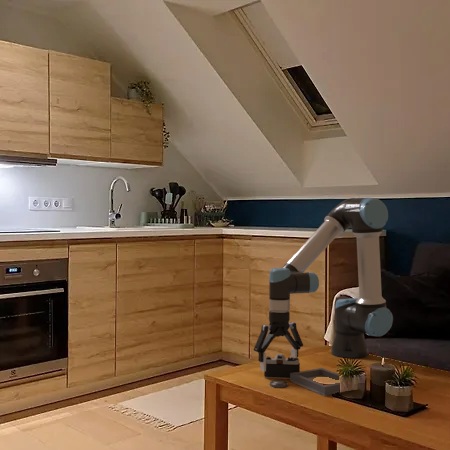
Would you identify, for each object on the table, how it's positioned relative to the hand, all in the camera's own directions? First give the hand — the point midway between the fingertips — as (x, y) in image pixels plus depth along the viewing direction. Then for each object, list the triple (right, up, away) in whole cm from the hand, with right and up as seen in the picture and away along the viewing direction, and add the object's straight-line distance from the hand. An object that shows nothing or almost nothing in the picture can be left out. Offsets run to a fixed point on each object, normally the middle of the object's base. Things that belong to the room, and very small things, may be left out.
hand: (278, 368), depth 223 cm
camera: (+1, -3, -1) cm, 3 cm away
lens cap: (-1, -3, -13) cm, 14 cm away
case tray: (+14, -3, -14) cm, 20 cm away
